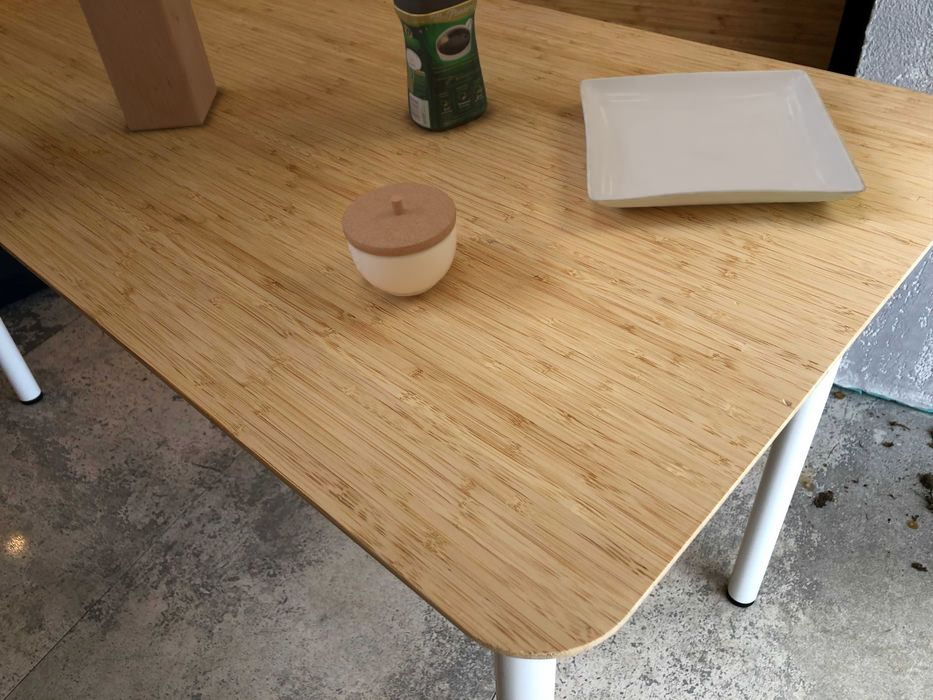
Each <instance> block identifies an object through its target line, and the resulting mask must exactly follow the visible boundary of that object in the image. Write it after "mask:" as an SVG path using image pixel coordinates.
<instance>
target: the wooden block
mask: <svg viewBox="0 0 933 700" xmlns="http://www.w3.org/2000/svg"><path fill="white" fill-rule="evenodd" d="M78 2H79V6H80V8H81V10H82V13H83V15H84V18H85V20H86V23H87V25H88V28H89V30H90V33H91V36H92V38H93V41H94V43H95V45H96V46H95V47H96V49H97V51H98V53H99V56H100V58H101V61H102V63H103V66H104V69H105V71H106V74H107V77H108V79H109V81H110V84H111V86H112V89H113V92H114V95H115V97H116V100H117V102H118V104H119V107H120V109H121V113H122V115H123V118H124V119H125V123H126V125H127V127H128V130H129V131H130V132H137V131H149V130H161V129H173V128H185V127H198V126H202V125H204V123H205V120H206V118H207V116H208V114H209V112H210V108H211V107H212V104H213V102H214V99H215V97H216V95H217V93H218V89H217V85H216V81H215V78H214V75H213V71H212V68H211V66H210V62H209V59H208V55H207V52H206V49H205V45H204V42H203V39H202V36H201V32H200V29H199V26H198V22H197V18H196V15H195V13H194V10H193V6H192V3H191V2H192V1H191V0H78Z"/></svg>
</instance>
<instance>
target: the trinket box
mask: <svg viewBox="0 0 933 700" xmlns="http://www.w3.org/2000/svg"><path fill="white" fill-rule="evenodd" d="M341 219H342V220H341V225H342V227H341V228H342V232H343V234H344V237H345V239H346V244H347V247H348V251H349V253H350V256H351V258H352V262H353V263H354V265H355V267H356V268H357V271H358V272H359V274H360V275H361V276H362V277H363V279H365V280H366V281H367V282H368V283H370V284H371V285H372V286H373V287H375V288H376V289H379V290H380V291H383V292H385V293H388V294H390V295H392V296H398V297H412V296H417V295H420V294H423V293H425V292H427V291H429V290H431V289H432V288H433V287H435V285H436V284H438V283H439V282H440V281H441V280H442V279H443V278H444V277H445V276H446V274H447V273H448V271H449V270H450V269H451V267H452V264H453V261H454V259H455V256H456V250H457V242H458V239H457V238H458V232H457V231H458V230H457V208H456V204H455V202H454V200H453V198H452V197H451V196H449V194H448V193H446V192H445V191H444V190H442V189H440V188H438V187H436V186H433V185H429V184H425V183H419V182H418V183H417V182H400V183H399V182H397V183H392V184H386V185H383V186H379V187H376V188H374V189H371V190H369V191H367V192H365V193H363V194H361V195H359V196H358V197H356V199H354V200H353V201H352V202H351V203H350V204H349V205H348V206H347V207H346V209H345V211H344V213H343V215H342V218H341Z"/></svg>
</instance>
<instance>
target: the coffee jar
mask: <svg viewBox="0 0 933 700" xmlns="http://www.w3.org/2000/svg"><path fill="white" fill-rule="evenodd" d="M392 2H393V3H392V4H393V9H394V13H395V14H396V16H397V19H398V20H399V21H400V23H401V27H402V32H403V38H404V39H403V40H404V48H405V61H406V62H405V63H406V82H407V83H406V85H407V87H406V88H407V102H408V111H409V116H410V118H411V119H412V120H413V122H414V123H415V124H416V125H418V126H419V127H421V128H422V129H426V130H429V131H434V132H442V131H447V130H450V129H452V128H456V127H458V126H462V125H464V124H466V123H469V122H471V121H474V120H476V119H478V118H479V117H481V116H483V114H485V113H486V110H487V108H488V100H487V92H486V86H485V81H484V77H483V71H482V67H481V61H480V54H479V48H478V43H477V38H476V25H475V15H476V9H477V4H478V0H392Z"/></svg>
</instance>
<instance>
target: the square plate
mask: <svg viewBox="0 0 933 700" xmlns="http://www.w3.org/2000/svg"><path fill="white" fill-rule="evenodd" d="M579 96H580V101H581V107H582V113H583V114H582V115H583V120H584V131H585V133H584V135H585V156H586V157H585V160H586V161H585V162H586V163H585V165H586V166H585V168H586V189H587V191H586V192H587V197H588V198H589V200H591V201H593V202H596V203H597V204H599V205H601V206H604V207H608V208H648V207H685V206H711V205H712V206H713V205H741V204H746V205H747V204H776V203H819V202H832V201H833V202H835V201H841V200H845V199H849V198H852V197H854V196H857V195H858V194H860V193H864V192H866V189H867V185H866V182H865V180H864V178H863V177H862V174H861V172H860V170H859V168H858V166H857V164H856V162H855V161H854V159H853V157H852V155H851V153H850V151H849V148H848V147H847V145H846V144H845V141H844V139H843V138H842V136H841V134H840V133H839V130H838V129H837V126H836V124H835V122H834V121H833V118H832V117H831V115H830V112H829V111H828V109H827V107H826V104H825V103H824V101H823V99H822V97H821V94H820V92H819V90H818V88H817V86H816V84H815V82H814V79H812V77H811V76H810V73H809V72H808V71H806V70H804V69H775V70H773V69H771V70H732V71H731V70H730V71H729V70H728V71H698V72H674V73H673V72H671V73H657V74H655V73H654V74H653V73H652V74H642V75H641V74H640V75H628V76H627V75H626V76H625V75H624V76H613V77H599V78H598V77H597V78H586V79H583V80H581V81H580V82H579Z"/></svg>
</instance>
